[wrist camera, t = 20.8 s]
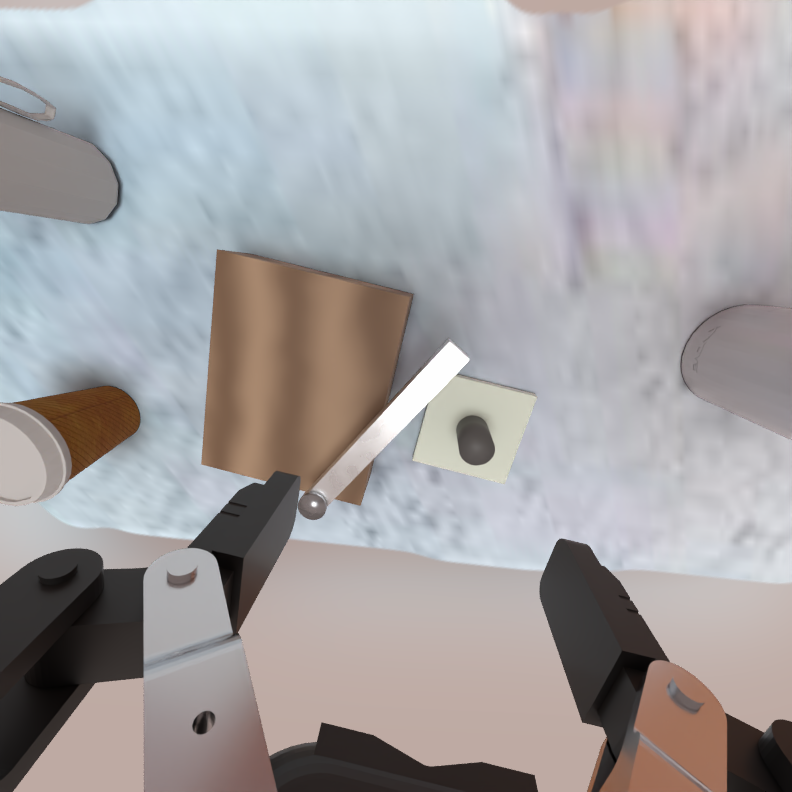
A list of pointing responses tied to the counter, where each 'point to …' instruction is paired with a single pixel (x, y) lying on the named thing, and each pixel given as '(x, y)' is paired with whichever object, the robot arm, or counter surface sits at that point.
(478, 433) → the lid
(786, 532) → the counter surface
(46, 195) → the water bottle
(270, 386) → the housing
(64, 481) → the disposable coffee cup
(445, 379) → the latch bar
